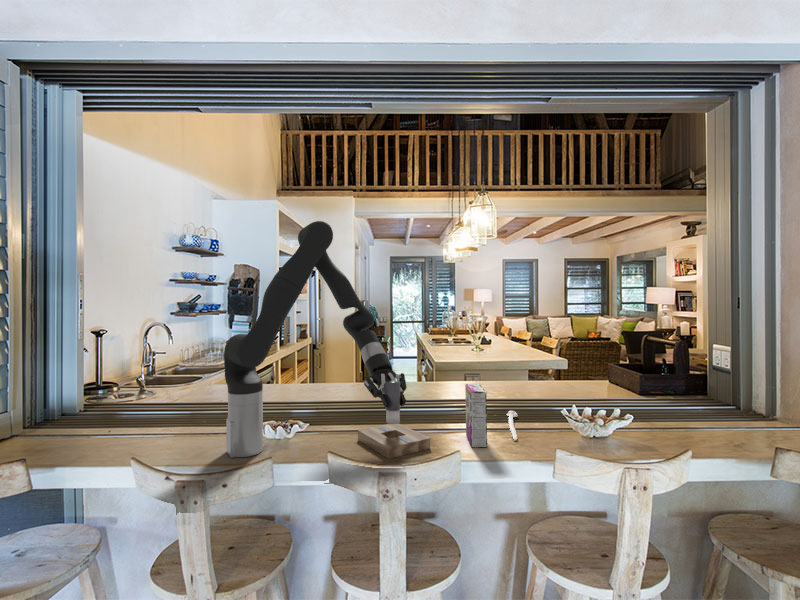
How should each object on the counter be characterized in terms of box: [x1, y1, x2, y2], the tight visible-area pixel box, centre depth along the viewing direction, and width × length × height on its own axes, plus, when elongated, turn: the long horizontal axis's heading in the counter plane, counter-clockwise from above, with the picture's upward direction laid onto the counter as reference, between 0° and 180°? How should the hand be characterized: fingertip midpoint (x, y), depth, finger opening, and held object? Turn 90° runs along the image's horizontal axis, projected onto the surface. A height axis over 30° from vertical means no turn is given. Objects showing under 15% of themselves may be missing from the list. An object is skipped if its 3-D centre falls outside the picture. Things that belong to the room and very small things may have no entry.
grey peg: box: [385, 379, 401, 424], centre depth 122 cm, size 4×4×12 cm
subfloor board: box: [357, 423, 431, 460], centre depth 122 cm, size 14×18×3 cm
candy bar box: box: [464, 383, 488, 448], centre depth 124 cm, size 11×5×16 cm, turn 179°
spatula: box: [506, 410, 519, 441], centre depth 137 cm, size 28×4×3 cm, turn 169°
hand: (396, 405), depth 121 cm, fingers closed on grey peg, 4 cm apart
